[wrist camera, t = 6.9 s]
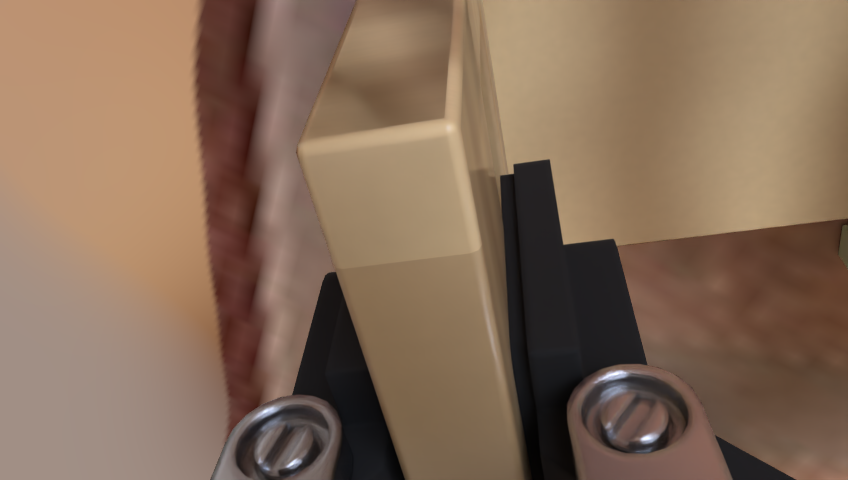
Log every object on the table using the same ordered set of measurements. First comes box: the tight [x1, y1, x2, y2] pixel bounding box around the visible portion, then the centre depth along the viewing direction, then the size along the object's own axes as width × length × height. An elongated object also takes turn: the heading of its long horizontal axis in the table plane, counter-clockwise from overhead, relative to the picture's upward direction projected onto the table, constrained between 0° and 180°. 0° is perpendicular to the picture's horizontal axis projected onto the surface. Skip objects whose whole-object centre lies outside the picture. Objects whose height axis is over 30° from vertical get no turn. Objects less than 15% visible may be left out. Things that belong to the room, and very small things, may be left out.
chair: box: [296, 0, 848, 480], centre depth 13 cm, size 10×9×15 cm
